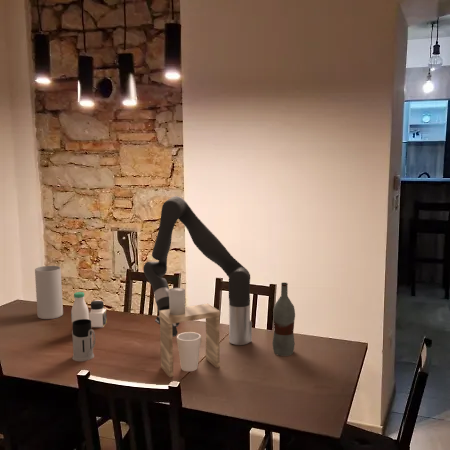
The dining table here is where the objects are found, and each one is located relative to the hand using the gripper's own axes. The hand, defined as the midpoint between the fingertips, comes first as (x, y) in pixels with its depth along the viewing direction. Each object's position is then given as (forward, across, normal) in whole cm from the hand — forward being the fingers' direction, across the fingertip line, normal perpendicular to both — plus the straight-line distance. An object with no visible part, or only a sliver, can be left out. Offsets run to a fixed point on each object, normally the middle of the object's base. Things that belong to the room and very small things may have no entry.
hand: (174, 335), depth 215 cm
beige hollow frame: (+17, 0, -7) cm, 19 cm away
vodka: (+20, +41, -9) cm, 46 cm away
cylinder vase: (-47, -42, +56) cm, 84 cm away
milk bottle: (-22, -32, +31) cm, 50 cm away
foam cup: (+18, -1, -8) cm, 19 cm away
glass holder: (-2, -35, +11) cm, 37 cm away
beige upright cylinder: (+1, -5, -24) cm, 24 cm away
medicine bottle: (-29, -22, +39) cm, 53 cm away
